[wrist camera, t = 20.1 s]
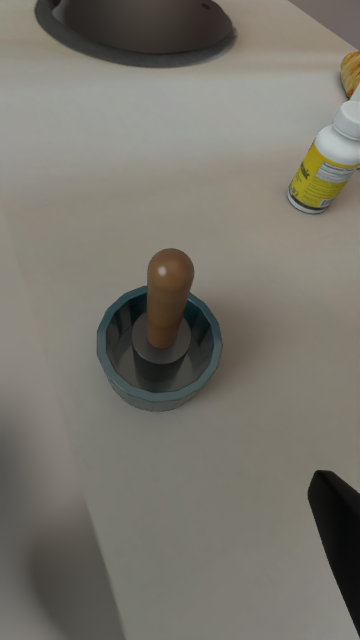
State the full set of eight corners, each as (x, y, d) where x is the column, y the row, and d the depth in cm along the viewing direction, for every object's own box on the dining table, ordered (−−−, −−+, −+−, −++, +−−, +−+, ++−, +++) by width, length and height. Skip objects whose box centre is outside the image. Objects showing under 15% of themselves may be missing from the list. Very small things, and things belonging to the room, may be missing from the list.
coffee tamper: (181, 383, 22) (223, 307, 10) (130, 379, 21) (113, 295, 10) (183, 337, 23) (221, 226, 12) (136, 333, 23) (128, 214, 11)
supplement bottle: (289, 179, 35) (337, 89, 26) (329, 193, 35) (391, 107, 26) (282, 206, 33) (332, 117, 24) (325, 221, 33) (391, 137, 24)
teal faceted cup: (133, 432, 20) (130, 428, 16) (90, 338, 23) (77, 311, 18) (225, 380, 23) (245, 363, 18) (177, 301, 25) (184, 269, 21)
